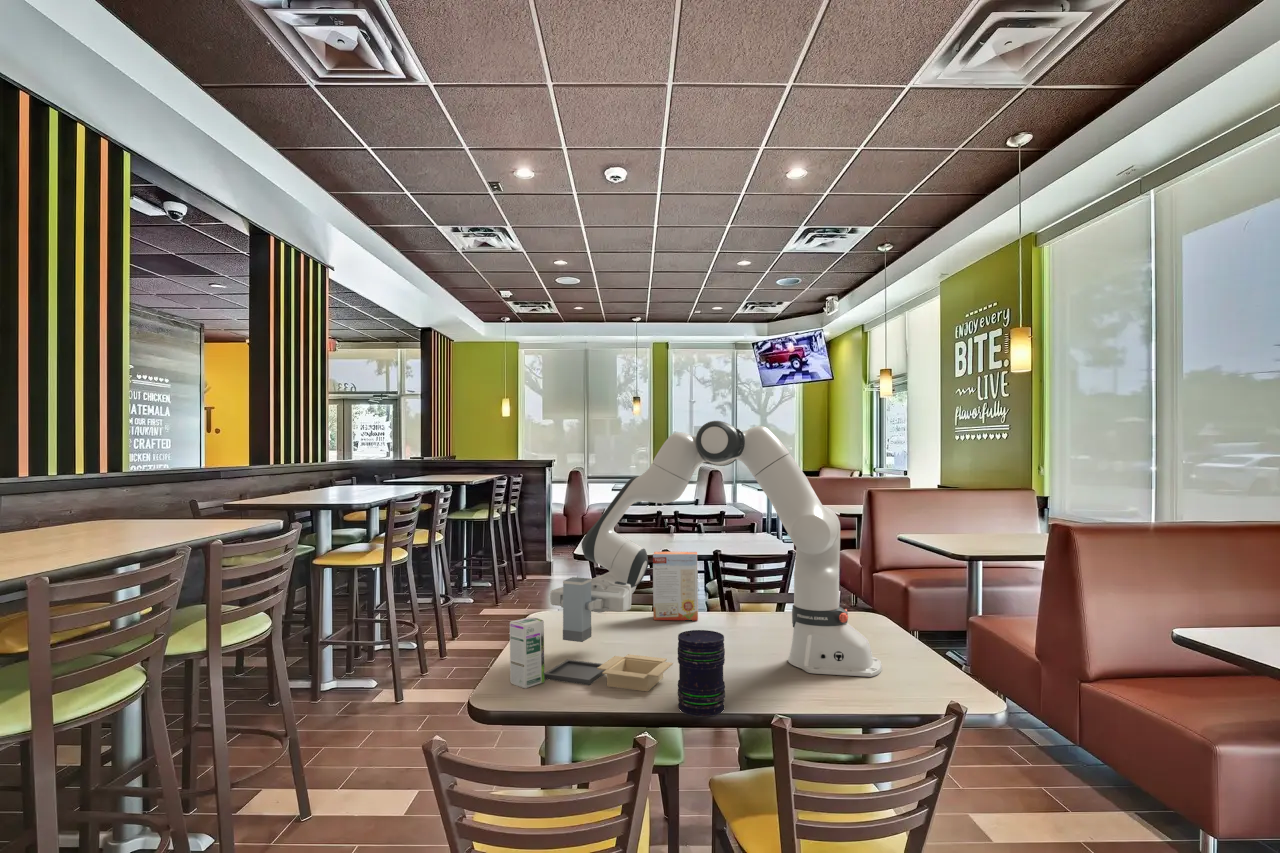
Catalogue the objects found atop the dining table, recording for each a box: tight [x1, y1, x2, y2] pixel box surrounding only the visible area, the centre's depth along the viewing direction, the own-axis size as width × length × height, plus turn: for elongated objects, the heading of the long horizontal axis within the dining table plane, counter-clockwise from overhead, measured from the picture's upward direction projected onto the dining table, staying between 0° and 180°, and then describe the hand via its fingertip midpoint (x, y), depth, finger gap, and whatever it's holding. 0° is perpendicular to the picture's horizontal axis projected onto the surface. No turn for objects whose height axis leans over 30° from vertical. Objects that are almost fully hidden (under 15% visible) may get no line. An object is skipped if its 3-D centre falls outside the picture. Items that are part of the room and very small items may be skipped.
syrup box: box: [509, 616, 546, 689], centre depth 165 cm, size 6×6×14 cm
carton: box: [597, 653, 674, 692], centre depth 166 cm, size 15×15×4 cm
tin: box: [562, 576, 593, 643], centre depth 172 cm, size 5×5×14 cm
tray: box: [544, 658, 605, 686], centre depth 171 cm, size 12×12×1 cm
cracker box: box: [652, 551, 699, 622], centre depth 226 cm, size 14×6×21 cm, turn 84°
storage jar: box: [677, 629, 726, 718], centre depth 149 cm, size 10×10×15 cm
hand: (575, 605), depth 171 cm, fingers closed on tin, 5 cm apart
